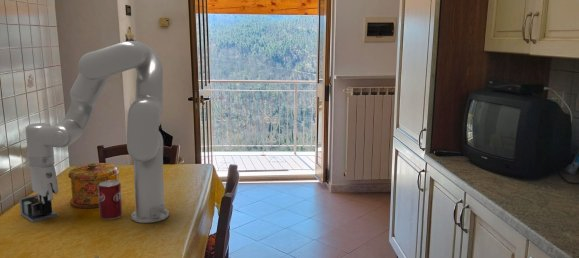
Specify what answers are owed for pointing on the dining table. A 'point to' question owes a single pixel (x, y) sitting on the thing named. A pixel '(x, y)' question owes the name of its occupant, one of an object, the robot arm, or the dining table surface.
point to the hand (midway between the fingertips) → (46, 213)
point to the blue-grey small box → (36, 208)
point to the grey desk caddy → (27, 209)
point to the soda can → (110, 200)
